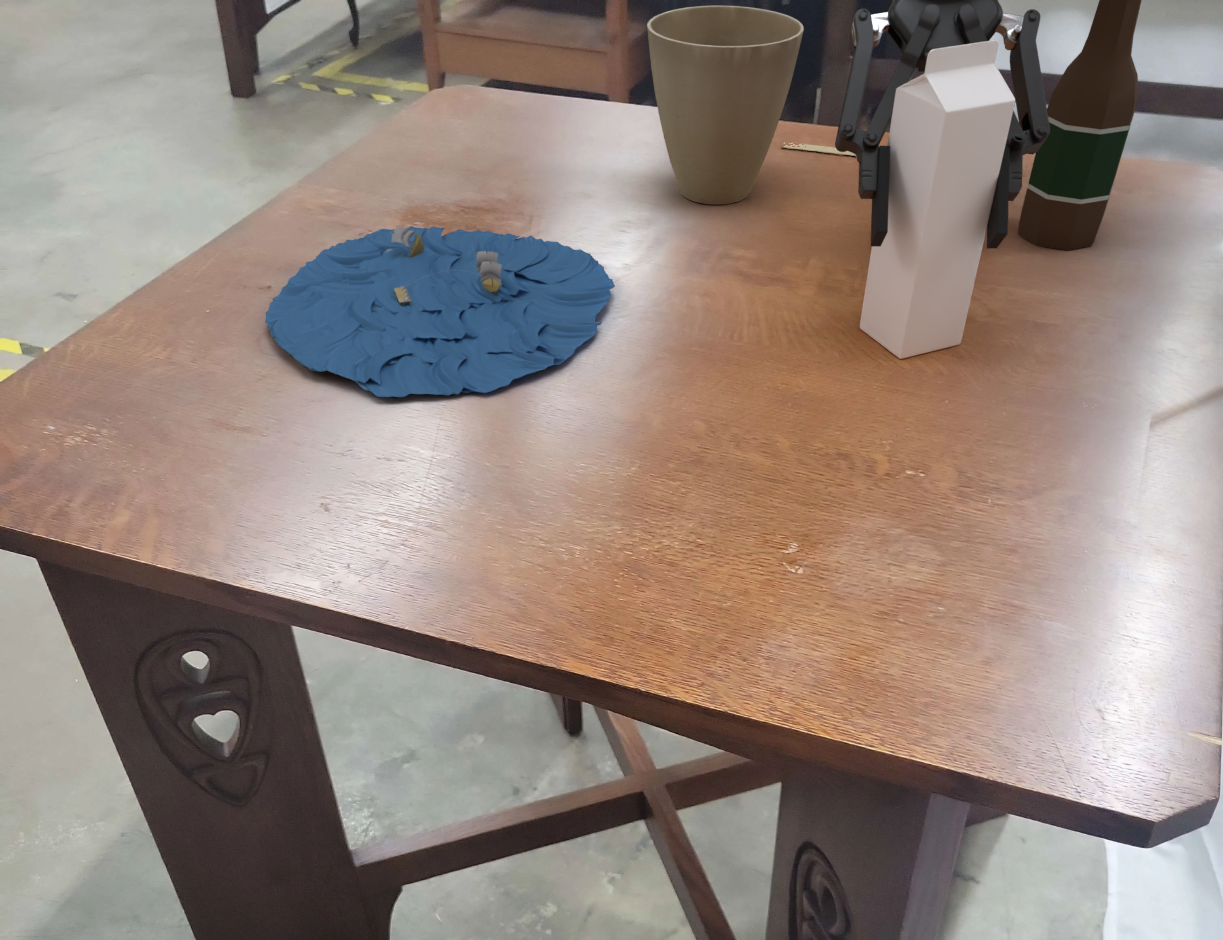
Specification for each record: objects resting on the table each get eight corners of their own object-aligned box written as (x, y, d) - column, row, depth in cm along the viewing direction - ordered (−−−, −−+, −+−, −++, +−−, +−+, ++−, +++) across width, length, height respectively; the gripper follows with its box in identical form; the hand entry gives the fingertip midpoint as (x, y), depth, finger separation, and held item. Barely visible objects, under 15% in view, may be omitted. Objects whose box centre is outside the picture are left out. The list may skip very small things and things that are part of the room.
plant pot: (684, 230, 105) (690, 53, 95) (622, 179, 115) (621, 15, 105) (814, 204, 110) (834, 33, 99) (744, 158, 120) (755, -2, 109)
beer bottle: (998, 234, 104) (1066, -53, 87) (1043, 212, 107) (1115, -66, 91) (1071, 259, 99) (1156, -39, 83) (1114, 235, 103) (1204, -53, 87)
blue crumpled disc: (686, 347, 90) (690, 289, 86) (349, 450, 78) (338, 388, 75) (521, 217, 108) (519, 165, 104) (227, 285, 96) (213, 229, 93)
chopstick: (999, 167, 117) (1000, 165, 117) (997, 173, 115) (998, 171, 115) (784, 143, 123) (785, 141, 123) (781, 148, 122) (781, 146, 122)
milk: (960, 345, 87) (1030, 50, 72) (899, 360, 86) (957, 61, 71) (916, 313, 91) (973, 29, 77) (856, 327, 90) (903, 38, 75)
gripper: (1067, -23, 84) (1062, 261, 83) (800, -23, 85) (791, 257, 84) (1106, -91, 76) (1100, 221, 75) (812, -90, 78) (803, 217, 76)
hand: (937, 239), depth 79 cm, fingers closed on milk, 8 cm apart
